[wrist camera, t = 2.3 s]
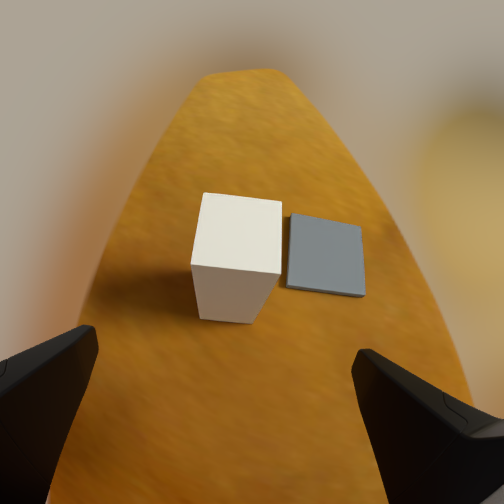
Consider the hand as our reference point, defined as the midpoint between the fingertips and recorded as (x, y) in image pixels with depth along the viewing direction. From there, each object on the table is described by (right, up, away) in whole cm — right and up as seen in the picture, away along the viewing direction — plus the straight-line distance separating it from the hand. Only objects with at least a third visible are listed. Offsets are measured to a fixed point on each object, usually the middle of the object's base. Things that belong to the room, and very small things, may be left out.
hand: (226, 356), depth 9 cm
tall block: (-1, 0, +14) cm, 14 cm away
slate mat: (+7, +3, +17) cm, 18 cm away
